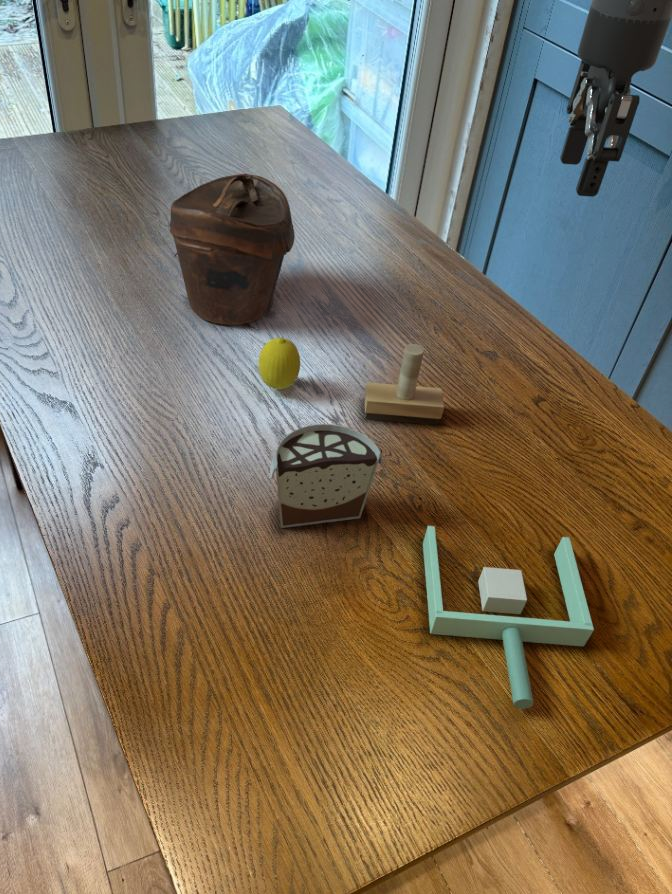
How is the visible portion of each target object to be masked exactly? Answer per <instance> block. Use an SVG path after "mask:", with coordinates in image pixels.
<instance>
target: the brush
mask: <svg viewBox="0 0 672 894" xmlns="http://www.w3.org/2000/svg"><path fill="white" fill-rule="evenodd" d="M424 353H425V349H424V347H423V346H422V345H420V344H418V343H409V344H406V345H405V346H404V350H403V355H402V359H401V365H400V369H399V374H398V380H397V384H393V383H380V382H369V381H368V382H366V384H365V390H364V419H365V420H373V421H385V422H396V423H407V424H408V423H410V424H421V425H432V426H433V425H434V426H438V425H439V422H440V420H441V419H442V418H443V414H444V409H445V402H444V395H443V394H444V393H443V388H442V387H441V388H440V387H429V386H417V384H418V380H419V375H420V371H421V367H422V362H423V358H424Z"/></svg>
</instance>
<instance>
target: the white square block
mask: <svg viewBox="0 0 672 894" xmlns="http://www.w3.org/2000/svg"><path fill="white" fill-rule="evenodd" d="M477 583H478V589H479V597H480V603H481V604H480V605H481V610H482V612H487V613H498V614H499V613H500V614H501V613H502V614H512V615H521V614H522V612H523V610H524V609H525V606H526V604H527V602H528V597H527V592H526V588H525V587H526V586H525V583H524V578H523V572H522V570H521V569H513V568H500V567H490V566H489V567H488V566H483V568H482V570H481V574H480V576H479V578H478V581H477Z"/></svg>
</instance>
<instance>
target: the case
mask: <svg viewBox="0 0 672 894" xmlns="http://www.w3.org/2000/svg"><path fill="white" fill-rule="evenodd" d="M169 233H170V234H171V235H172V238H173V241H174V245H175V251H176V253H175V254H174V256H173V257H174V258H176V256H177V259H178V263H179V266H180V270H181V275H182V280H183V282H184V288H185V292H186V296H187V300H188V304H189V307H190V309H191V310H192V312H193V313H194V314H195V315H196V316H198V317H199V318H201V319H203V320H204V321H207V322H210V323H214V324H218V325H230V326H231V325H233V326H234V325H235V326H236V325H243V324H249V323H252V322H254V321H257V320H259V319H261V318H262V317H264V316H265V315H266V314H268V313H269V312H270V311H271V310H272V307H273V302H274V301H273V300H274V295H275V293H276V288H277V285H278V280H279V277H280V273H281V271H282V265H283V262H284V258H285V256H286V255H287V253H290V252H291V250H292V248H293V246H294V244H295V238H296V235H295V229H294V224H293V220H292V213H291V207H290V204H289V200H288V198H287V195H285V192H284V191H283V190H282V189H281V188H280V187H279V186H278V185H277V184H275V183H274V182H272V181H270V180H269V179H267V178H265V177H264V176H260V175H255V174H249V173H238V174H232V175H231V174H230V175H226V176H225V175H224V176H222V177H218V178H216V179H213V180H211V181H208V182H204V183H203V184H201V185H198V186H197V187H195V188H193V189H191V190H190V191H188V192H186V193H184V194H182V195H181V196H180V197H178V198H177V199H175V200H174V201H173V202H172V203H171V206H170V220H169Z"/></svg>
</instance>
